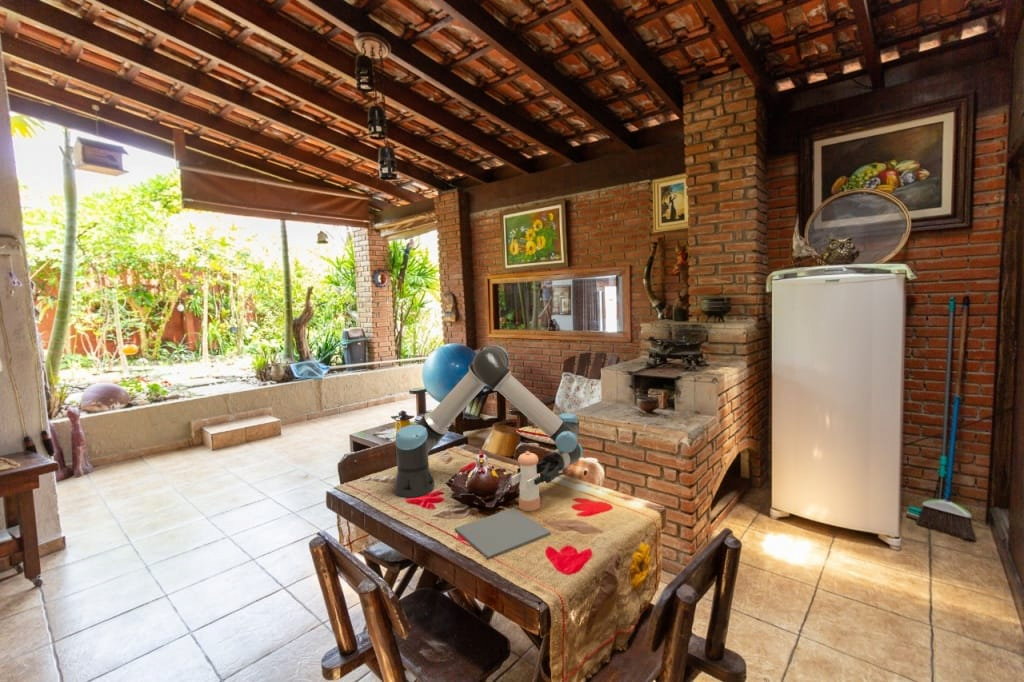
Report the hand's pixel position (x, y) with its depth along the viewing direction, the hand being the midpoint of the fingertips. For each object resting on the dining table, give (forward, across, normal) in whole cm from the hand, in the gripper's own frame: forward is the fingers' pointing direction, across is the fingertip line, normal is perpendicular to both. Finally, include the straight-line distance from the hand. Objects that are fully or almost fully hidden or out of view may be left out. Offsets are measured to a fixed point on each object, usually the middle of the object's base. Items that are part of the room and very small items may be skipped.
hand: (520, 483), depth 152 cm
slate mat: (+14, -3, -10) cm, 17 cm away
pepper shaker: (-5, 0, -10) cm, 11 cm away
